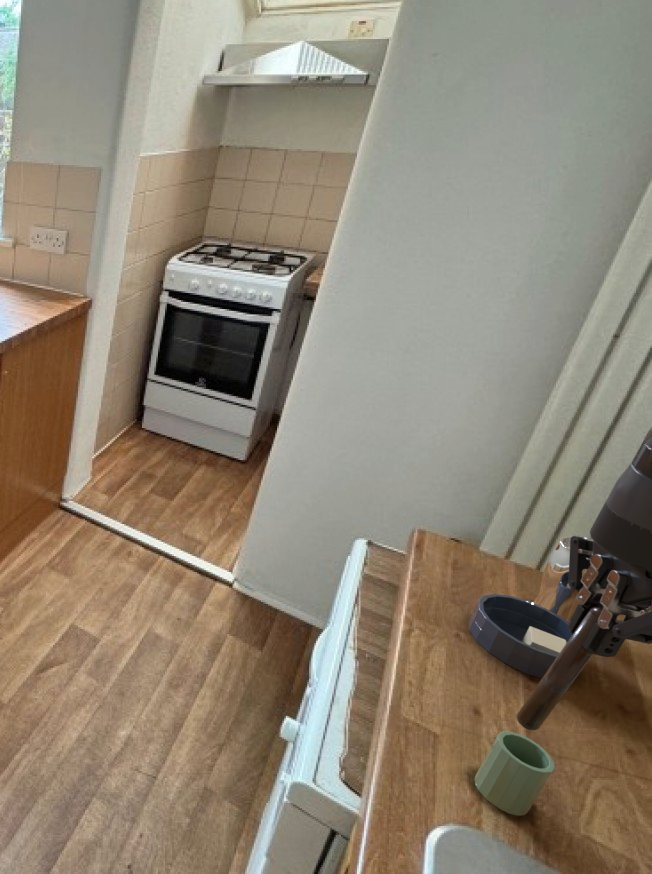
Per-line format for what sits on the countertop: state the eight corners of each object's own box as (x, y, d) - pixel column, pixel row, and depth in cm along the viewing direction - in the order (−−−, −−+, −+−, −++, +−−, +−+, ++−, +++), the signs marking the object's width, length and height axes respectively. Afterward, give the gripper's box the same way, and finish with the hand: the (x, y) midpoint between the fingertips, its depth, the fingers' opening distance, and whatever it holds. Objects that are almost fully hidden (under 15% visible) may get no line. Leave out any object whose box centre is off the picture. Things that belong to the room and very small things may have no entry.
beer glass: (525, 597, 106) (560, 529, 101) (582, 621, 102) (621, 551, 96) (520, 617, 102) (555, 547, 97) (578, 644, 97) (620, 571, 92)
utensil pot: (512, 783, 77) (539, 738, 74) (536, 824, 73) (565, 778, 70) (465, 770, 79) (489, 725, 76) (485, 809, 74) (511, 764, 71)
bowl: (543, 630, 100) (557, 605, 98) (596, 696, 89) (613, 669, 87) (451, 610, 104) (463, 585, 102) (491, 671, 93) (505, 645, 90)
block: (555, 658, 94) (565, 639, 92) (558, 675, 91) (569, 656, 90) (520, 644, 96) (529, 625, 95) (521, 660, 93) (532, 641, 92)
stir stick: (535, 726, 72) (619, 609, 65) (536, 737, 71) (622, 620, 63) (513, 714, 73) (593, 598, 66) (513, 725, 72) (595, 608, 64)
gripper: (780, 572, 53) (683, 709, 59) (658, 485, 65) (589, 606, 71) (667, 552, 55) (586, 686, 62) (569, 471, 67) (510, 590, 74)
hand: (588, 642), depth 66 cm, fingers closed on stir stick, 2 cm apart
